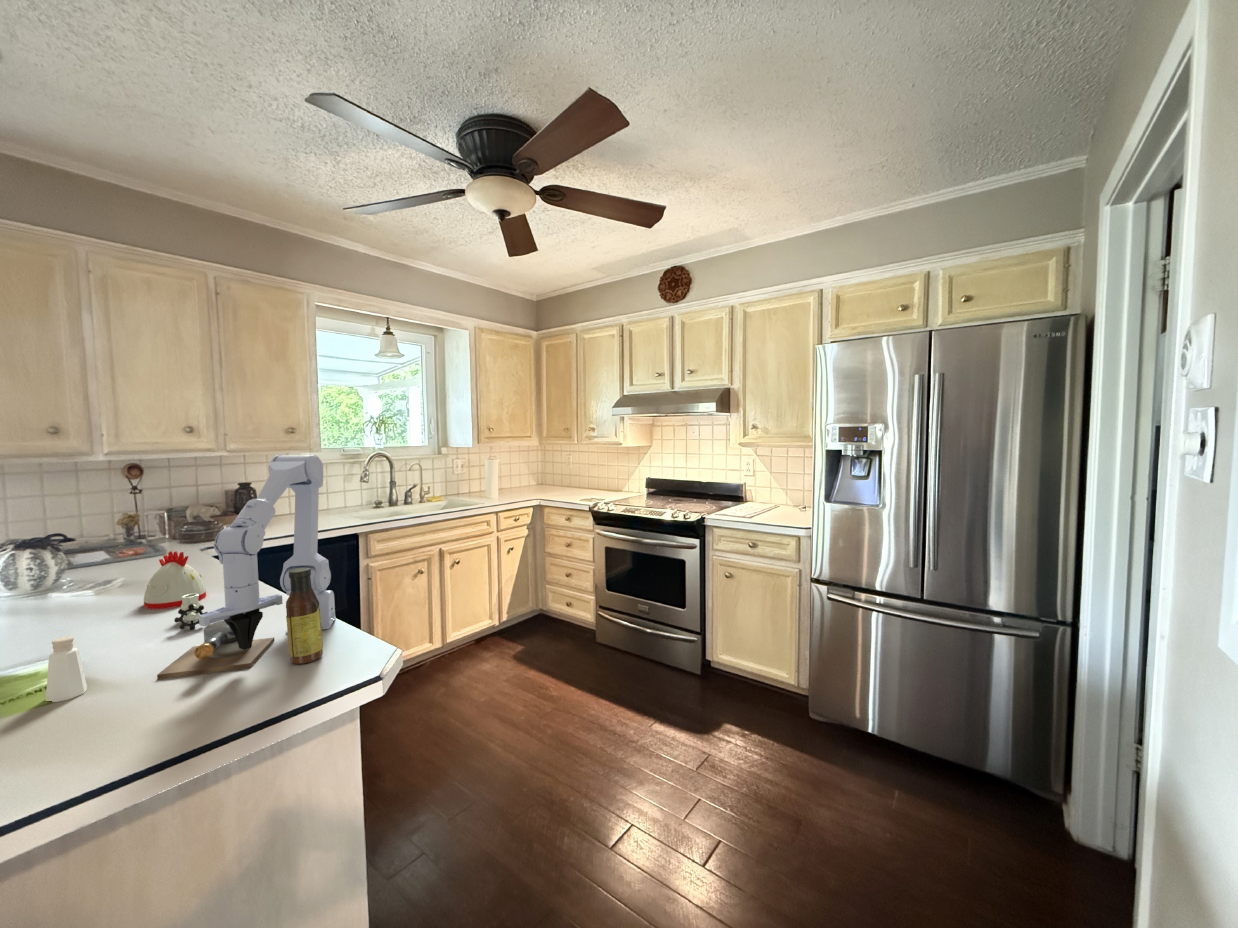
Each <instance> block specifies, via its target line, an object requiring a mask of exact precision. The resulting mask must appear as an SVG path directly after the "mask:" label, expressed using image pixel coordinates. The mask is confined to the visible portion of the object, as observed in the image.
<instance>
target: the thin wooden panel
mask: <svg viewBox="0 0 1238 928" xmlns="http://www.w3.org/2000/svg"><path fill="white" fill-rule="evenodd" d="M274 641H275V637H267V638H257V639H253V641H252V646H251V648H248V649H246V650H243V649H240V648H239V646H238V642H233V643H228V644H223V645H222V646H221V647H220V648H219V649H217V650H216V651H215V652H214V653H213V654H212V655H211V656H210V657H209V658H207V659H204V660H201V659H198V658H196V656H195V654H194V652H195V649H196V648H197V647H198V646H199V645H195V646H191V648H189V649H188V650H186V652H184V653H183V654H181V655H180V656H179V657H178V658H176V659H175V660H174V661H173V662H171V663H170V664H169V665H168V666H166V667H165V668H164V669H163V670H161V671H160V672H159V673H157V674H156V677H157V680H164V679H173V678H181V677H189V676H196V675H204V674H211V673H219V672H227V671H228V672H230V671H234V670H235V671H236V670H244V669H251V668H252V667H253V666H254V665H255V664H254V663H256V662H258V660H259V659H260V658H261V657H262V656H263V655H264V654H265V653H266V652H267V650H269V648H270V647H271V646H272V645H273V644H274V643H275V642H274ZM273 642H274V643H273ZM272 643H273V644H272ZM271 644H272V645H271ZM270 645H271V646H270ZM269 646H270V647H269ZM264 652H265V653H264ZM263 653H264V654H263ZM262 654H263V655H262ZM261 655H262V656H261ZM259 657H260V658H259ZM253 664H254V665H253Z"/></svg>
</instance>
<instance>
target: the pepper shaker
mask: <svg viewBox="0 0 1238 928" xmlns="http://www.w3.org/2000/svg"><path fill="white" fill-rule="evenodd" d="M74 640H75V637H74V636H71V635H70V636H69V635H68V636H62V637H59V638H56V639H54V640H51V645H52V650H53V652H52V653H50V654H49V655H48V663H47V664H48V665H47V678H46V689H45V690H46V692H45V700H46V699H48V700H50V701H52V702H51V703H58V702H59V703H60V702H63V701H68V700H72V699H74V698H76V697H79V696H81V695H84V693H85V692H86V691H87V690H88V684H87V680H86V676H85V672H84V668H83V662H82V658H81V656H80V651H79V647H78V648H77V647H74V644H75V643H74Z"/></svg>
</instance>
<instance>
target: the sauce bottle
mask: <svg viewBox="0 0 1238 928" xmlns="http://www.w3.org/2000/svg"><path fill="white" fill-rule="evenodd" d="M310 575H311V569H310V568H297V569H293V570H290V571H289V578H290V582H291V593H290V595H288V598H287V599H286V601H285V610H286V617H285V618H286V628H287V629H286V631H288V633H287V641H288V652H289V656H290V657H289V660H290V662H291V663H292V664H295V665H303V664H308V663H311V662H312V663H313V662H314V661H316V660H319V659H320V658H322V656H323V651H324V650H323V648H324V646H323V645H324V644H323V631H322V630H321V617H320V605H319V601H318V599H317V597H316V595H315V593H314V591H313V589H312V587H311V578H310Z"/></svg>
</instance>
